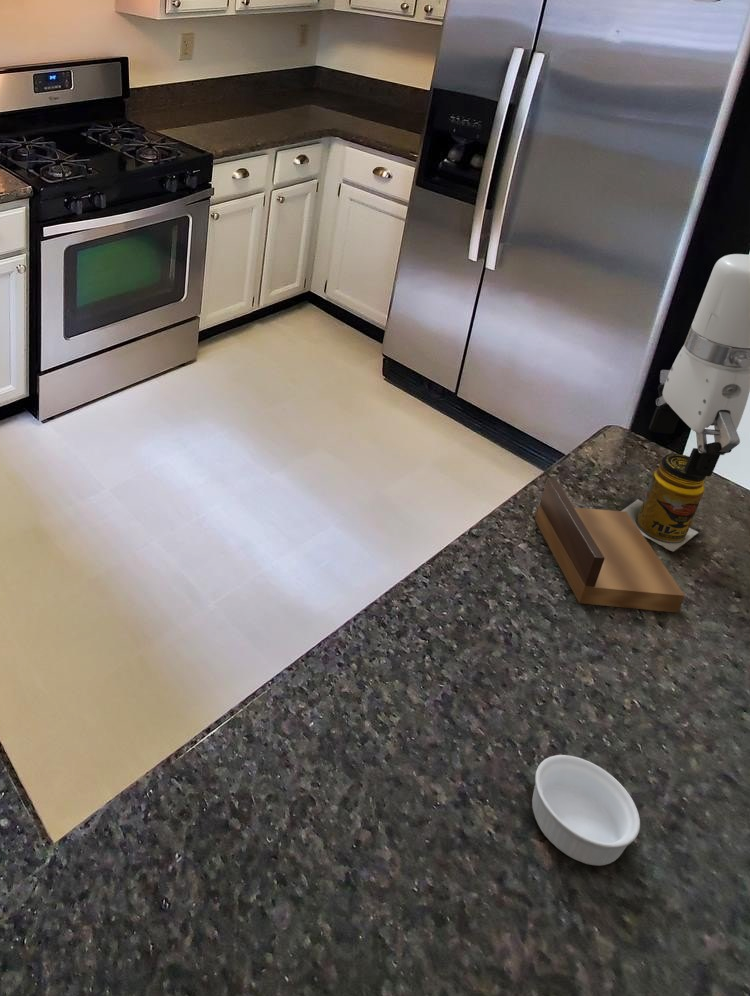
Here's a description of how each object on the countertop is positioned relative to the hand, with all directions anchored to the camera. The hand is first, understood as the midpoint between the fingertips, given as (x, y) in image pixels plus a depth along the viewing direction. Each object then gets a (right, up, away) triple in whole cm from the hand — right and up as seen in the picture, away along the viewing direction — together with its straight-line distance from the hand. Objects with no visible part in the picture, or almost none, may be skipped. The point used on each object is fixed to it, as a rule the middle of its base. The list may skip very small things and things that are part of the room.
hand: (678, 452), depth 112 cm
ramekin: (-35, -31, -33) cm, 57 cm away
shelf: (-12, -15, -1) cm, 19 cm away
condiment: (+1, -12, +6) cm, 13 cm away
